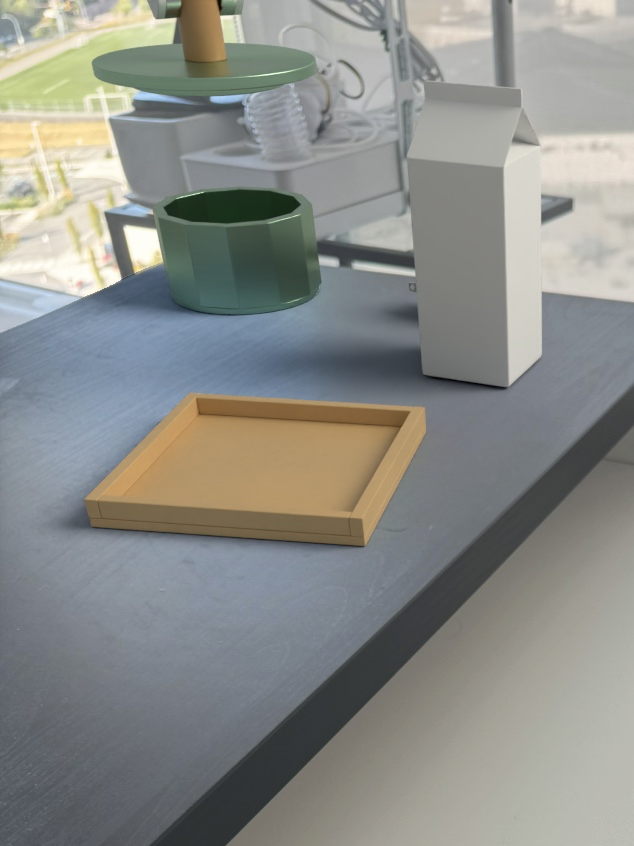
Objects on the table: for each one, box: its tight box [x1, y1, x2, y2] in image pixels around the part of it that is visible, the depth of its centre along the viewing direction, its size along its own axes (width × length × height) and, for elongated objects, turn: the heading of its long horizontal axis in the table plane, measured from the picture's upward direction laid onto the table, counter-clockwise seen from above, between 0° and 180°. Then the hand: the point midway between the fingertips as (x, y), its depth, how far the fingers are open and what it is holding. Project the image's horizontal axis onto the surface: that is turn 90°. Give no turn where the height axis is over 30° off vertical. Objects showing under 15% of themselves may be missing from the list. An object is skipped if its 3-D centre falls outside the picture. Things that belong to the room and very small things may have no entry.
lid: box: [91, 0, 318, 98], centre depth 73 cm, size 14×14×7 cm
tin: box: [151, 185, 322, 316], centre depth 101 cm, size 13×13×7 cm
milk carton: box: [406, 79, 543, 388], centre depth 84 cm, size 7×7×19 cm
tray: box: [83, 392, 427, 547], centre depth 74 cm, size 17×17×2 cm
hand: (201, 10), depth 72 cm, fingers closed on lid, 2 cm apart
